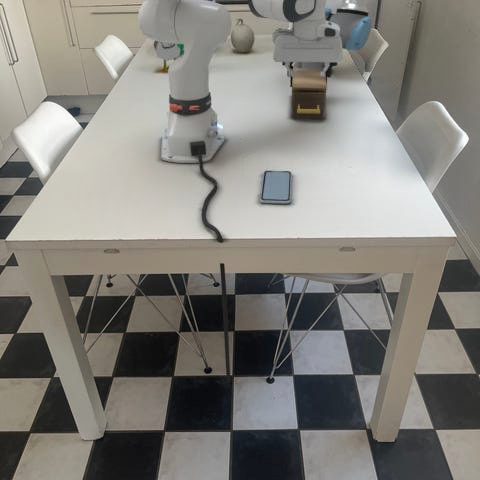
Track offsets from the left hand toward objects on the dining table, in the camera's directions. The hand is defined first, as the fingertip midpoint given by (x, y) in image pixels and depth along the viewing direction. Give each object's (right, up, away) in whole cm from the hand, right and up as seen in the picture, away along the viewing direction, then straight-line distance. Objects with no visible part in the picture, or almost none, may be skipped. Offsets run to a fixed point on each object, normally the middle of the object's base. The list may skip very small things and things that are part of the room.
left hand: (306, 76), depth 154 cm
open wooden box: (+3, -4, +20) cm, 21 cm away
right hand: (+3, +4, +22) cm, 22 cm away
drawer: (+2, -6, +15) cm, 17 cm away
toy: (-48, +21, +57) cm, 77 cm away
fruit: (-19, +36, +78) cm, 88 cm away
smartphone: (-11, -36, -25) cm, 45 cm away
